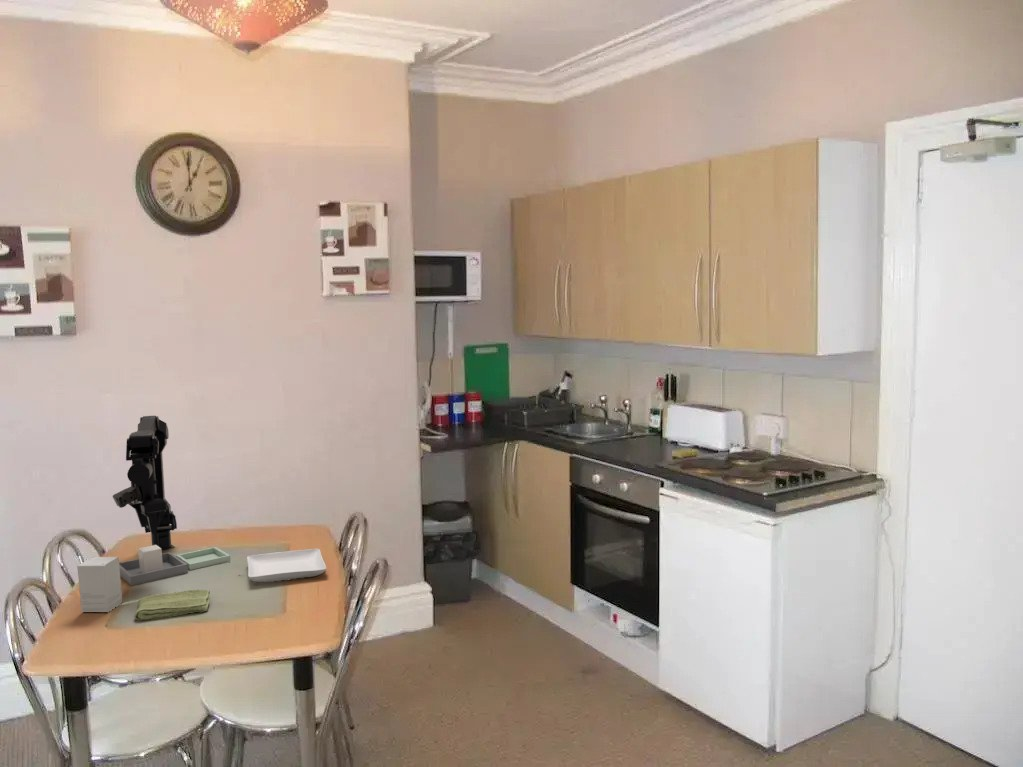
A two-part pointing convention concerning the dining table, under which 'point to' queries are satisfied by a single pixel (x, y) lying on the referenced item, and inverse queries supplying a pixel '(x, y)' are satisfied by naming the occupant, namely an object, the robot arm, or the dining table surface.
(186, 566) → the gray square tray
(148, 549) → the block
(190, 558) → the holder
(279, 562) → the salad plate
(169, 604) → the washcloth
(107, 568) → the supplement box
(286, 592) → the dining table surface
